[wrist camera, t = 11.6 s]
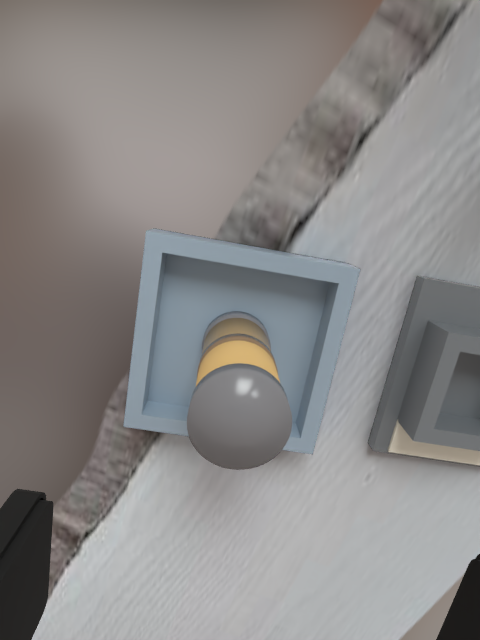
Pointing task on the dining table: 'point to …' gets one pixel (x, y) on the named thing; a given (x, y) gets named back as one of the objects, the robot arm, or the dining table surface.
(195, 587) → the dining table surface
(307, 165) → the dining table surface
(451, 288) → the grey square socket holder
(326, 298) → the tray
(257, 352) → the fuse
